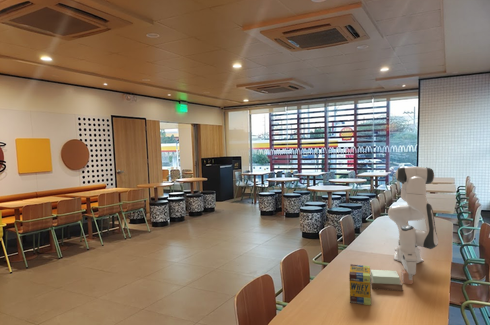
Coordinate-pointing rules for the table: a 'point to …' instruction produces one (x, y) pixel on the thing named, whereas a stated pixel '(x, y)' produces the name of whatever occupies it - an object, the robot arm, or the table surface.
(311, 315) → the table surface
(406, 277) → the block
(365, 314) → the table surface
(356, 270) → the protein box
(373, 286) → the tower base
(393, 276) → the tower top
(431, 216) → the robot arm
